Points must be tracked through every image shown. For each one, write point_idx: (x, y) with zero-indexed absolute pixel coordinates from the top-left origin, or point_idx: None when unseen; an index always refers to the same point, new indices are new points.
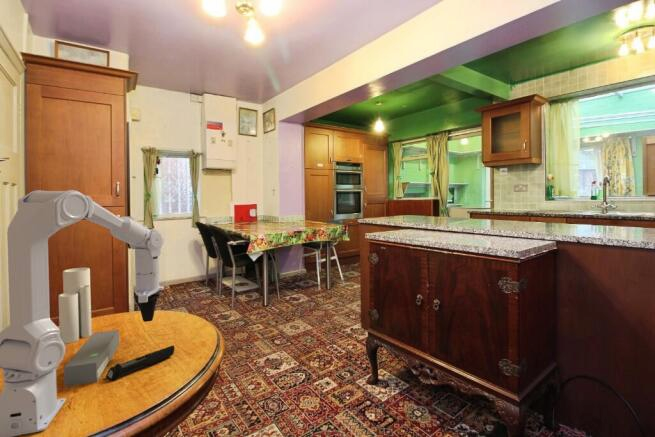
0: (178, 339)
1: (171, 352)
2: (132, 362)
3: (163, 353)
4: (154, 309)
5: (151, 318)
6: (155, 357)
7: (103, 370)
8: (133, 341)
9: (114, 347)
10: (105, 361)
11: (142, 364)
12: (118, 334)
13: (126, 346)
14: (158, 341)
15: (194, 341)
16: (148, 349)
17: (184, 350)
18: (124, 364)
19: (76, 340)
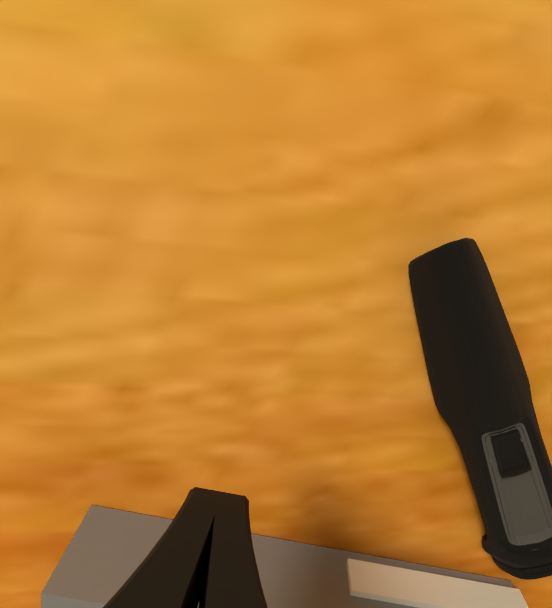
0: (161, 165)
1: (482, 258)
2: (530, 489)
3: (499, 316)
4: (183, 581)
5: (249, 524)
6: (516, 365)
7: (407, 563)
8: (65, 439)
9: None
10: (404, 593)
11: (539, 429)
12: (70, 568)
13: (131, 473)
14: (135, 304)
15: (271, 41)
16: (246, 369)
17: (407, 149)
18: (530, 525)
19: None
